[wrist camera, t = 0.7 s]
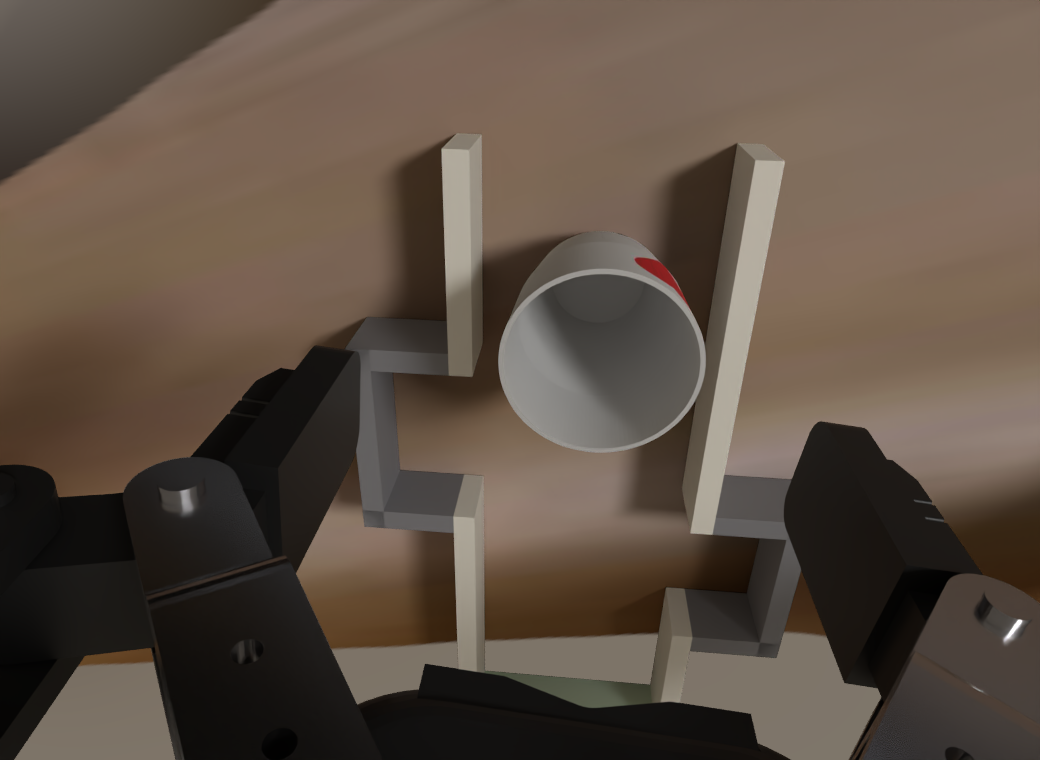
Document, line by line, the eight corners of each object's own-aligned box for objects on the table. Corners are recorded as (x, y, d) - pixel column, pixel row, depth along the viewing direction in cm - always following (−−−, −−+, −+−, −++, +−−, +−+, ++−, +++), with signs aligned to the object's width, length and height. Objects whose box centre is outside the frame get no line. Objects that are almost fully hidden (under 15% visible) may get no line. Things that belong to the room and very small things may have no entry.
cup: (691, 328, 37) (723, 429, 28) (545, 365, 39) (533, 470, 30) (657, 180, 34) (681, 242, 25) (498, 227, 36) (469, 301, 27)
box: (878, 148, 32) (914, 166, 29) (737, 703, 51) (749, 755, 47) (350, 129, 34) (322, 144, 30) (399, 674, 52) (386, 722, 49)
